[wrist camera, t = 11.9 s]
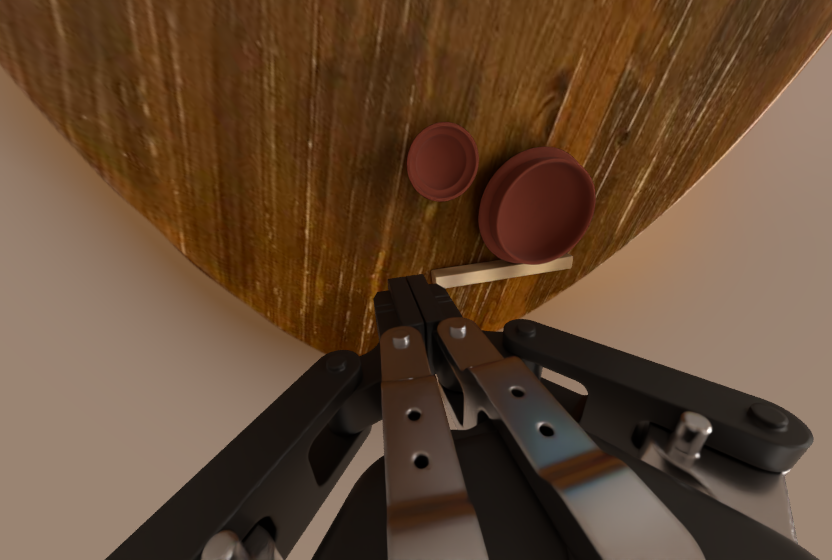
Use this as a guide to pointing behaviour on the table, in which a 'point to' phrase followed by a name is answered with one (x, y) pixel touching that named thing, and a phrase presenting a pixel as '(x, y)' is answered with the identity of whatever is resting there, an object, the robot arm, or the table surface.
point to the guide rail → (494, 271)
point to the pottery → (508, 193)
